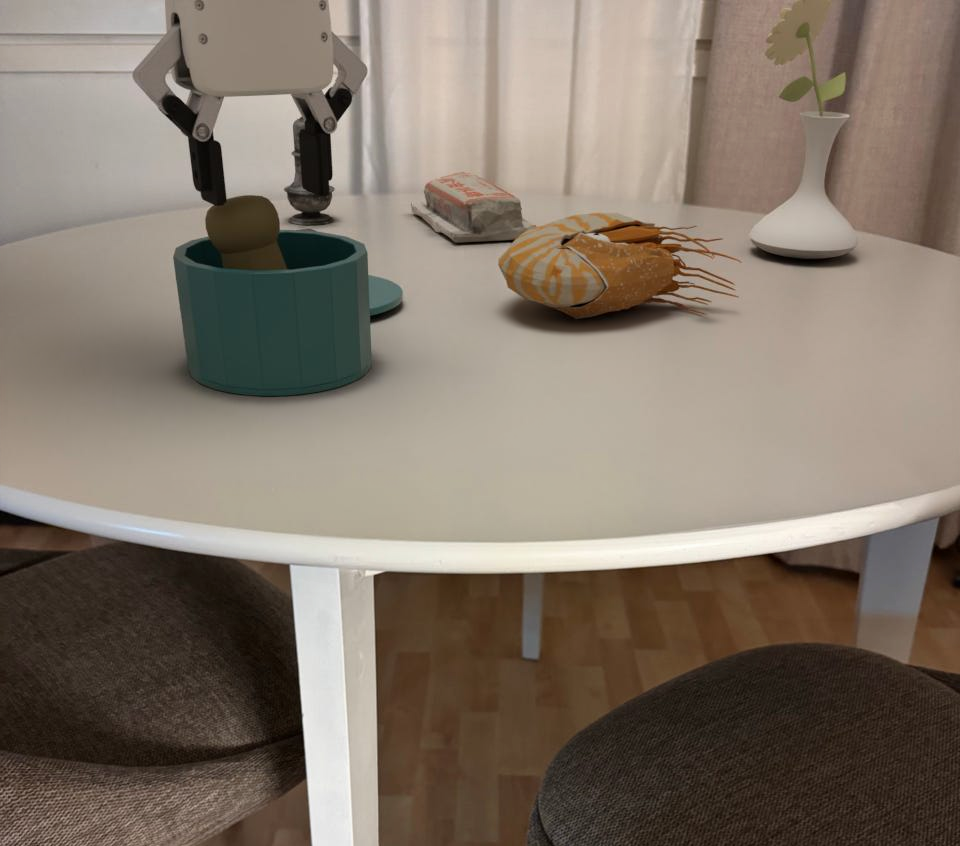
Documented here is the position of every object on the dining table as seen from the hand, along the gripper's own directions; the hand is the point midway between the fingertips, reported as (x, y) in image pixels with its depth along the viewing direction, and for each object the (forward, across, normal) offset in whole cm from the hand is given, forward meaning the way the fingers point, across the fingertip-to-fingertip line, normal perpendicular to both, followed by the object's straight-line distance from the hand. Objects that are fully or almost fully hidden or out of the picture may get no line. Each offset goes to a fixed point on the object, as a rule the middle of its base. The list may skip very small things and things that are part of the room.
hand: (265, 195), depth 74 cm
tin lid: (+12, -10, -14) cm, 21 cm away
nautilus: (+12, -32, +1) cm, 34 cm away
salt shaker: (+12, -25, -48) cm, 55 cm away
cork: (+11, 0, 0) cm, 11 cm away
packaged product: (+12, -40, -36) cm, 55 cm away
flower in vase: (+12, -63, -7) cm, 65 cm away
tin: (+12, 0, 0) cm, 12 cm away
